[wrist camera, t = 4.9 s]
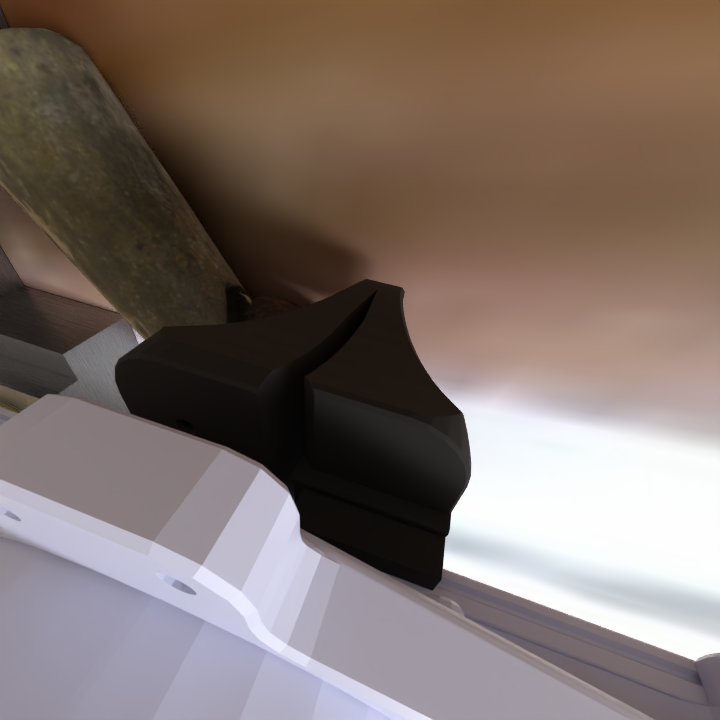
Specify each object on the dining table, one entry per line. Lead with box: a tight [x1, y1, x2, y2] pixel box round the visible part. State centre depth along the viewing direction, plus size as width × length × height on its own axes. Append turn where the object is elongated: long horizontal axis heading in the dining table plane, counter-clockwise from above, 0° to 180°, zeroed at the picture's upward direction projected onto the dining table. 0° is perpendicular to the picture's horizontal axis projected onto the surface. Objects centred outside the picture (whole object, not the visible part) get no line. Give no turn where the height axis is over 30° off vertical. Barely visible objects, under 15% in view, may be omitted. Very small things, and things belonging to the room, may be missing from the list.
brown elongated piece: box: [0, 27, 303, 340], centre depth 12 cm, size 18×7×6 cm, turn 31°
